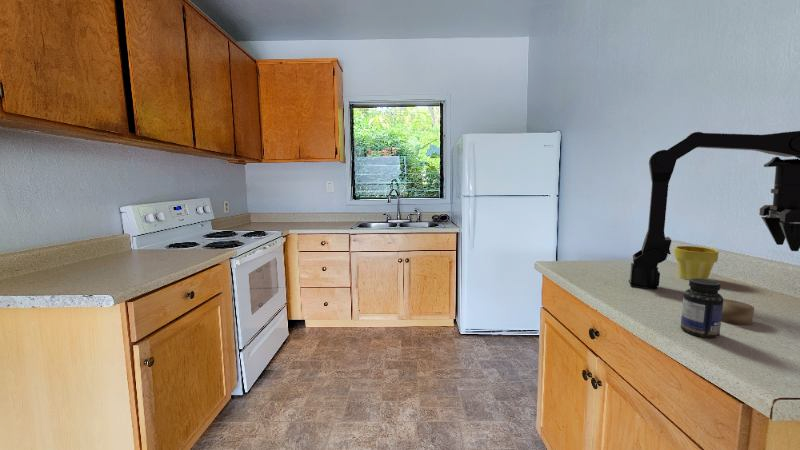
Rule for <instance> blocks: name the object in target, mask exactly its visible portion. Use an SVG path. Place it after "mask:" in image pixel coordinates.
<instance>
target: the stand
mask: <svg viewBox="0 0 800 450" xmlns="http://www.w3.org/2000/svg"><path fill="white" fill-rule="evenodd" d="M754 311H755V307H754V306H753V305H751V304H749V303H745V302H743V301H740V300H739V301H737V300H733V299H728V298H727V299H726V298H723V309H722V318H721V323H726V324H731V325H735V326H736V325H738V326H750V325H753V319H754Z"/></svg>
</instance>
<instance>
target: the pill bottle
mask: <svg viewBox="0 0 800 450" xmlns="http://www.w3.org/2000/svg"><path fill="white" fill-rule="evenodd" d="M688 281H689V283H688V286H689V288H688V289H686V290H685V291H683V298H682V308H681V317H680V319H681V320H680V328H681V330H682V331H684V332H685V333H688V334H690V335H693V336H696V337H700V338H706V339H712V338H713V339H714V338H718V337H719V336H720V334H721V332H720V331H721V325H722V321H721V318H722V309H723V299H724V297H723V296H722V295H721V294H720V293H718V292H719V291H720V290H721V283H720V282H719V281H716V280H713V279H709V278H708V279H700V278H692V279H690V280H688Z"/></svg>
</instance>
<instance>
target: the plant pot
mask: <svg viewBox="0 0 800 450" xmlns="http://www.w3.org/2000/svg"><path fill="white" fill-rule="evenodd" d="M673 254H674V255H673V256H674V258H675V259H676V262H677V263H676V264H677V268H678V275H679V277H680V278H681V279H684V280H687V281H689V280H690V279H692V278H700V279H708V280H709V277H710V274H711V271H712V269H713V268H714V264H715V263H717V262H718V259H719V250H717V249H715V248H710V247H705V246H697V245H695V246H694V245H678V246H675V247H674V253H673Z"/></svg>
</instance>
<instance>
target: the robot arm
mask: <svg viewBox="0 0 800 450" xmlns="http://www.w3.org/2000/svg"><path fill="white" fill-rule="evenodd" d="M698 148H701V149H702V148H703V149H720V150H738V151H739V150H740V151H741V150H742V151H755V152H761V153H764V154H767V155H768V154H769V155H773V156H775V157H772V158H771V160H769V161H767V162H766V163H764V164H763V167H764V168H775V174H774V184H773V185H774V186H773V187H774V188H770V194H773V197H772V198H773V199H772V204H765V205H763V206H761V207H759V216H761V219H762V220H763V221H762V222H764V225H765V226H766V228H767V229H768V231H769V233H770V235H771V237H772V239H773V241H774V242H775V244H776V245H778V246H782V245H784V243H785V241H786V243H787V245H788V247H789V249H790V251H791V252H799V250H800V130H796V131H785V132H776V133H769V134H768V133H766V134H748V133H746V134H745V133H744V134H742V133H719V132H718V133H716V132H715V133H713V132H710V133H709V132H703V131H695V132H692V133H690V134H689V135H687V136H686V137H685V138H683V139H682V140H681V141H679V142H677V143H676V144H674V145H673V146H672V147H669V148H668V149H661V150H658V151H656V152H654V153H653V154H652V155H651V156H650V157H649V160H648V166H649V174H650V180H651V189H650V190H651V191H650V204H649V216H648V227H647V232H646V234H645V236H644V240H643V243H642V245H641V249H640V250H639V251H637V252H636V253H634V254H633V255H632V261H633V262H631V263H630V271H629V272H630V273H629V279H628V282H629V286H630V287H635V288H643V289H649V290H650V289H651V290H658V289H659V288H658V287H659V286H660V281H661V280H660V278H661V272H660V271H659V267H658V265H659V264H660V263H662V262H664V261H666V260H667V258H668V255H671V254H672V253H671V250H670V248H671V244H672V238H670V236H666V235H665V227H666V225H665V224H666V214H667V204H668V194H669V193H668V191H669V183H670V181H671V178H672V175H673V173H674V170H675V166H676V163H677V160H679V159H680V158H682V157H683V156H686V155H688V153H690V152H691V151H694V150H695V149H698ZM780 157H785V159H781V158H780ZM790 157H791V158H790ZM793 157H795V158H793ZM786 158H788V159H786ZM789 158H790V159H789Z"/></svg>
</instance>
